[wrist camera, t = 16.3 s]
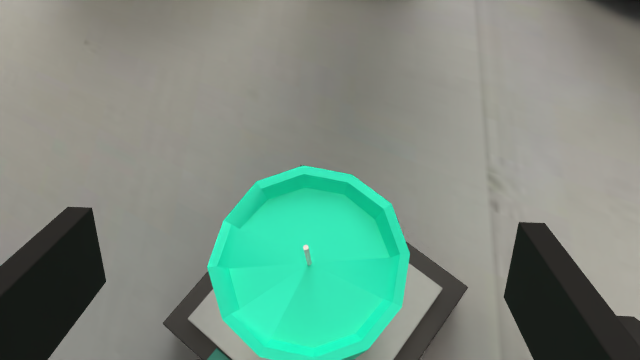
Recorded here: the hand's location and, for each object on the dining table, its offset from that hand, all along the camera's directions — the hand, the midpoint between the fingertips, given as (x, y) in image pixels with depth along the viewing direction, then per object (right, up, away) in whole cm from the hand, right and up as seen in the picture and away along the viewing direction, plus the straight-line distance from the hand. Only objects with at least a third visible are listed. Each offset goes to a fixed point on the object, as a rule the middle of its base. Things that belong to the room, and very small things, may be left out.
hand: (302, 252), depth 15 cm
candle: (+1, -4, +9) cm, 10 cm away
